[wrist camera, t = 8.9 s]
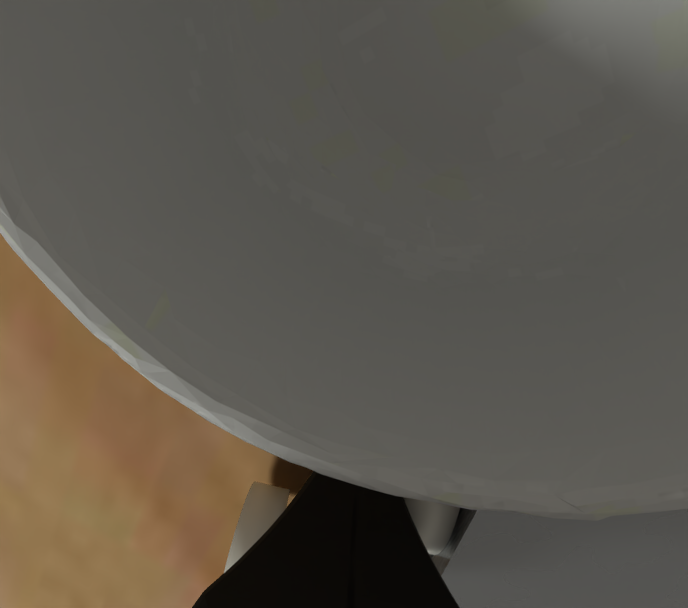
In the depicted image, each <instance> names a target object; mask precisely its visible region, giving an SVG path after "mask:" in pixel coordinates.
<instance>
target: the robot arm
mask: <svg viewBox="0 0 688 608" xmlns="http://www.w3.org/2000/svg"><path fill="white" fill-rule="evenodd" d="M192 608H460V607H459V605H458V604H457V602H456V601H455V599H454V598H453V596H452V594H451V593H450V591H449V589H448V587H447V586H446V584H445V582H444V580H443V579H442V577H441V575H440V573H439V572H438V570H437V568H436V566H435V564H434V563H433V561H432V559H431V557H430V555H429V553H428V551H427V549H426V547H425V545H424V543H423V541H422V539H421V537H420V535H419V533H418V531H417V529H416V526H415V524H414V522H413V520H412V518H411V515H410V513H409V510H408V508H407V505H406V503H405V500H404V498H403V497H400V496H394V495H390V494H386V493H382V492H379V491H375V490H372V489H368V488H365V487H362V486H358V485H355V484H351V483H348V482H345V481H342V480H339V479H335V478H332V477H329V476H326V475H323V474H320V473H317V472H315V471H313V473H312V474H311V476H310V477H309V479H308V480H307V482H306V483H305V484H304V486H303V487H302V489H301V490H300V491H299V493H298V494H297V495H296V496H295V498H294V499H293V500H292V502H291V503H290V504H289V505H288V507H287V508H286V509H285V510H284V511H283V513H282V514H281V515H280V516H279V517H278V519H277V520H276V521H275V522H274V523H273V524H272V525H271V527H270V528H269V529H268V530H267V531H266V532H265V533H264V534H263V535H262V536H261V537H260V538H259V540H258V541H257V542H256V543H255V544H254V545H253V546H252V547H251V548H250V549H249V550H248V551H247V552H246V553H245V554H244V555H243V556H242V557H241V558H240V559H239V560H238V561H237V562H236V563H235V564H234V565H233V566H231V567H230V568H229V569H228V570H227V571H226V572H225V573H224V574H223V575H221V576H220V577H219V578H218V579H217V580H216V581H215V582H214V583H212V584H211V585H210V586H209V587H208V588H207V589H206V590H205V591H204V592H203V593H202V595H201V596H200V597H199V599H198V600H197V601H196V603H195V604H194V606H193V607H192Z"/></svg>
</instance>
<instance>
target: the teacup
mask: <svg viewBox="0 0 688 608" xmlns="http://www.w3.org/2000/svg"><path fill="white" fill-rule="evenodd" d="M0 233H1V234H2V236H3V237H4V238H5V240H6V241H7V242H8V244H9V245H10V246H11V248H12V249H13V250H14V251H15V252H16V253H17V255H18V256H19V257H20V258H21V259H22V260H23V261H24V262H25V263H26V264H27V266H28V267H29V268H30V269H31V270H32V271H33V272H34V273H35V274H36V275H37V276H38V278H39V279H40V280H41V281H42V282H43V283H44V284H45V285H46V286H47V287H48V288H49V289H50V290H51V291H52V292H53V294H54V295H55V296H56V297H57V298H58V299H59V300H60V301H61V302H62V303H63V304H64V305H65V306H66V307H67V308H68V309H69V310H70V311H71V312H72V313H73V314H74V315H75V316H76V317H77V318H78V320H79V321H80V322H81V323H82V324H83V325H84V326H85V327H86V328H88V329H89V330H90V331H91V332H92V333H93V334H94V335H95V336H96V337H97V338H99V339H100V340H101V341H103V342H104V343H105V344H106V345H108V346H109V347H110V348H111V349H112V350H113V351H114V352H115V353H117V354H118V355H119V356H120V357H121V358H122V359H123V360H124V361H125V362H127V363H128V364H129V365H130V366H132V367H133V368H134V369H135V370H137V371H138V372H139V373H140V374H141V375H143V376H144V377H145V378H146V379H148V380H149V381H150V382H151V383H153V384H154V385H155V386H156V387H158V388H159V389H160V390H161V391H163V392H165V393H166V394H168V395H169V396H171V397H172V398H174V399H176V400H177V401H179V402H180V403H182V404H183V405H185V406H187V407H188V408H190V409H191V410H193V411H194V412H196V413H197V414H199V415H200V416H202V417H203V418H204V419H206V420H208V421H209V422H211V423H213V424H215V425H217V426H218V427H220V428H222V429H224V430H226V431H227V432H229V433H231V434H233V435H235V436H236V437H238V438H240V439H242V440H244V441H246V442H248V443H250V444H252V445H254V446H256V447H258V448H261V449H263V450H265V451H267V452H269V453H271V454H273V455H276V456H278V457H280V458H282V459H284V460H286V461H288V462H291V463H294V464H297V465H300V466H303V467H306V468H309V469H311V470H313V471H315V472H317V473H320V474H323V475H326V476H329V477H332V478H335V479H339V480H342V481H345V482H348V483H351V484H355V485H358V486H362V487H365V488H368V489H372V490H375V491H379V492H382V493H386V494H390V495H394V496H400V497H406V498H411V499H417V500H423V501H429V502H435V503H440V504H445V505H450V506H455V507H460V508H465V509H469V510H487V511H508V512H515V513H522V514H528V515H535V516H542V517H548V518H559V519H576V520H592V521H598V520H601V519H604V518H607V517H610V516H617V515H629V514H640V513H651V512H663V511H671V510H680V509H688V0H0Z"/></svg>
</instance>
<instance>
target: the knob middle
mask: <svg viewBox="0 0 688 608" xmlns="http://www.w3.org/2000/svg"><path fill="white" fill-rule="evenodd" d="M289 492H290V489H286V488H281V487H277V486H273V485H268V484H264V483H259V482H254V483H253V484H252V486H251V488H250V490H249V493H248V495H247V498H246V500H245V503H244V506H243V509H242V512H241V515H240V518H239V521H238V524H237V527H236V530H235V534H234V537H233V541H232V544H231V548H230V551H229V555H228V559H227V563H226V566H225V570H224V573H225V572H226V571H227V570H228V569H229V568H230V567H231V566H233V565H234V564H235V563H236V562H237V561H238V560H239V559H240V558H241V557H242V556H243V555H244V554H245V553H246V552H247V551H248V550H249V549H250V548H251V547H252V546H253V545H254V544H255V543H256V542H257V541H258V540H259V538H260V537H261V536H262V535H263V534H264V533H265V532H266V531H267V530H268V529H269V528H270V527H271V525H272V524H273V523H274V522H275V521H276V520H277V519H278V517H279V516H280V515H281V514H282V513H283V511H284V510H285V509H286V507H287V503H288V498H289Z"/></svg>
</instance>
